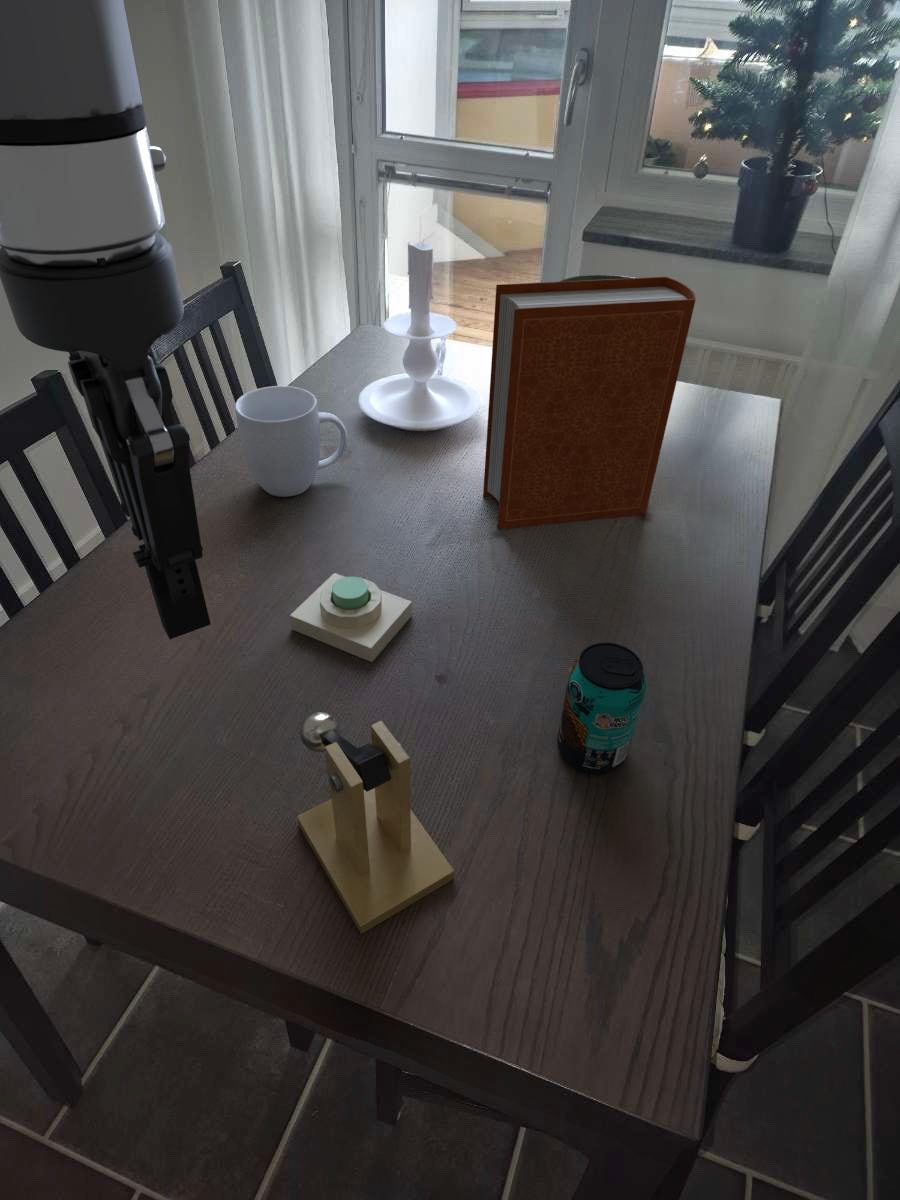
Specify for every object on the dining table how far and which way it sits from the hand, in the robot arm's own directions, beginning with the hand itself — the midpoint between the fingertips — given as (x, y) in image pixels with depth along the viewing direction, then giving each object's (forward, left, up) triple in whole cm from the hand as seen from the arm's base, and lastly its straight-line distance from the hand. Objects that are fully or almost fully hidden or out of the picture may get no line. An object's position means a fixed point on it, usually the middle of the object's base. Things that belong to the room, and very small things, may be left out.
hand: (186, 625), depth 49 cm
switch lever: (+7, +7, -19) cm, 21 cm away
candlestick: (-27, +80, -27) cm, 88 cm away
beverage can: (+23, +25, -27) cm, 43 cm away
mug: (-32, +50, -27) cm, 65 cm away
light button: (-8, +29, -23) cm, 38 cm away
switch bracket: (+10, +5, -26) cm, 29 cm away
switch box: (-8, +29, -26) cm, 40 cm away
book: (+5, +65, -27) cm, 70 cm away
